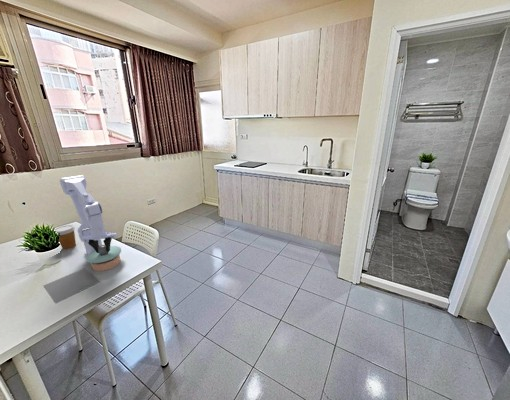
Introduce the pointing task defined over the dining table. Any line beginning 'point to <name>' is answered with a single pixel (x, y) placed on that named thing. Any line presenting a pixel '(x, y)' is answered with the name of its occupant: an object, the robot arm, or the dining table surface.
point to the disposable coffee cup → (66, 236)
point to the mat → (70, 285)
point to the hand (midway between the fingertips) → (103, 251)
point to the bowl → (106, 264)
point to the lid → (103, 254)
